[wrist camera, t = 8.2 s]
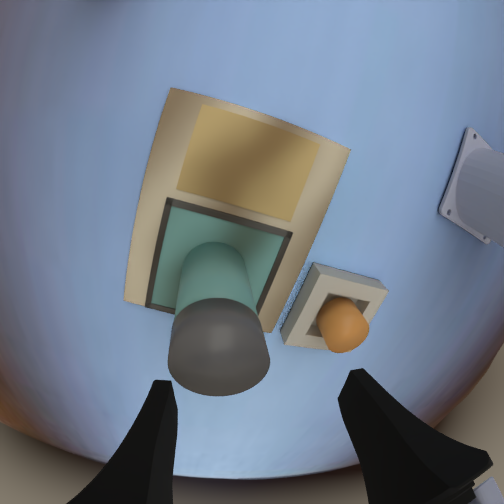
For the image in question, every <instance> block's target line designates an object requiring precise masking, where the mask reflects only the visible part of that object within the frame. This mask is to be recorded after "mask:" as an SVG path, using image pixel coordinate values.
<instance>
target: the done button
mask: <svg viewBox="0 0 504 504" xmlns="http://www.w3.org/2000/svg"><path fill="white" fill-rule="evenodd" d="M316 323H317V326H318V328H319V330H320V332H321V334H322V336H323V338H324V341H325V343H326V345H327V347H328V349H329V350H331V351H332V352H335V353H344V352H348V351H351V350H353V349H355V348H356V347H358V346H359V345H360V344H361V343H362V342H363V341H364V340H365V339H366V337H367V335H368V332H369V324H368V322H367V321H366V319H365V318H364V316H363V315H362V314H361V312H360V311H359V309H358V308H357V306H356V305H355V304H354V302H353V301H352V300H351V299H348V298H343V297H341V298H336V299H333V300H331V301H329V302H327V303H326V304H325V305H324V306H323V307H322V308H321V309H320V310H319V312H318V314H317V317H316Z"/></svg>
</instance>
